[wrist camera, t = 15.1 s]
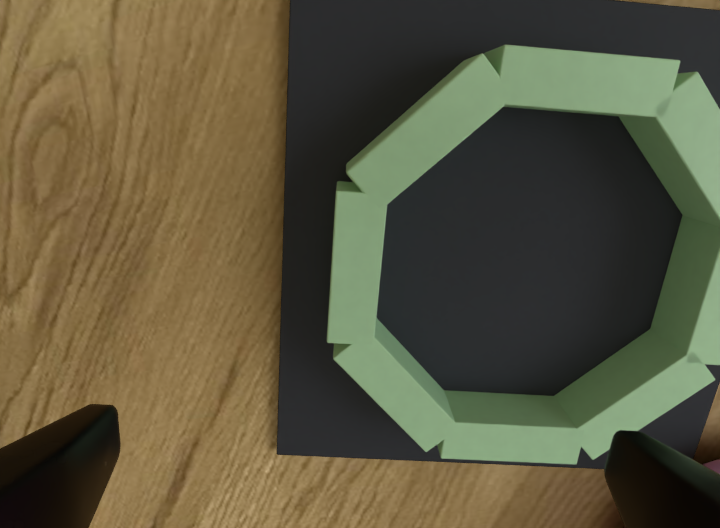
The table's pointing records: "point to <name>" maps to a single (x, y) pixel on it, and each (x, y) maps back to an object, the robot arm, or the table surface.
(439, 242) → the mat
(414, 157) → the ring
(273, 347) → the table surface
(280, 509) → the table surface
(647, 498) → the robot arm
